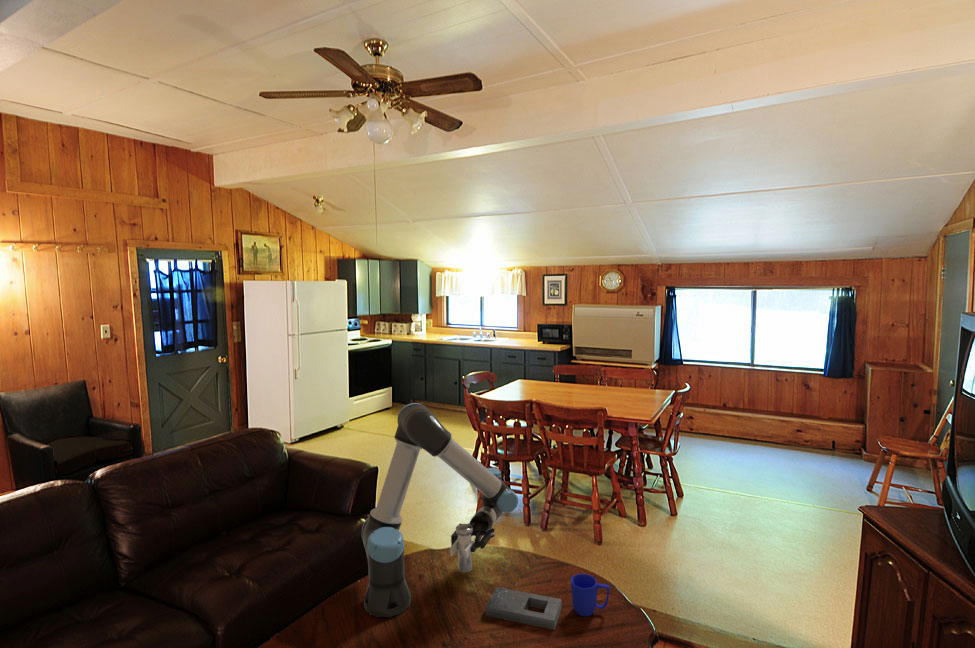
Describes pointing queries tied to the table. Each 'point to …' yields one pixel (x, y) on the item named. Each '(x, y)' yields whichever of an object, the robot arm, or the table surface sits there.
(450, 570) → the table surface
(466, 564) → the silver metal peg
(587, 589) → the mug
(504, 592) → the jig
